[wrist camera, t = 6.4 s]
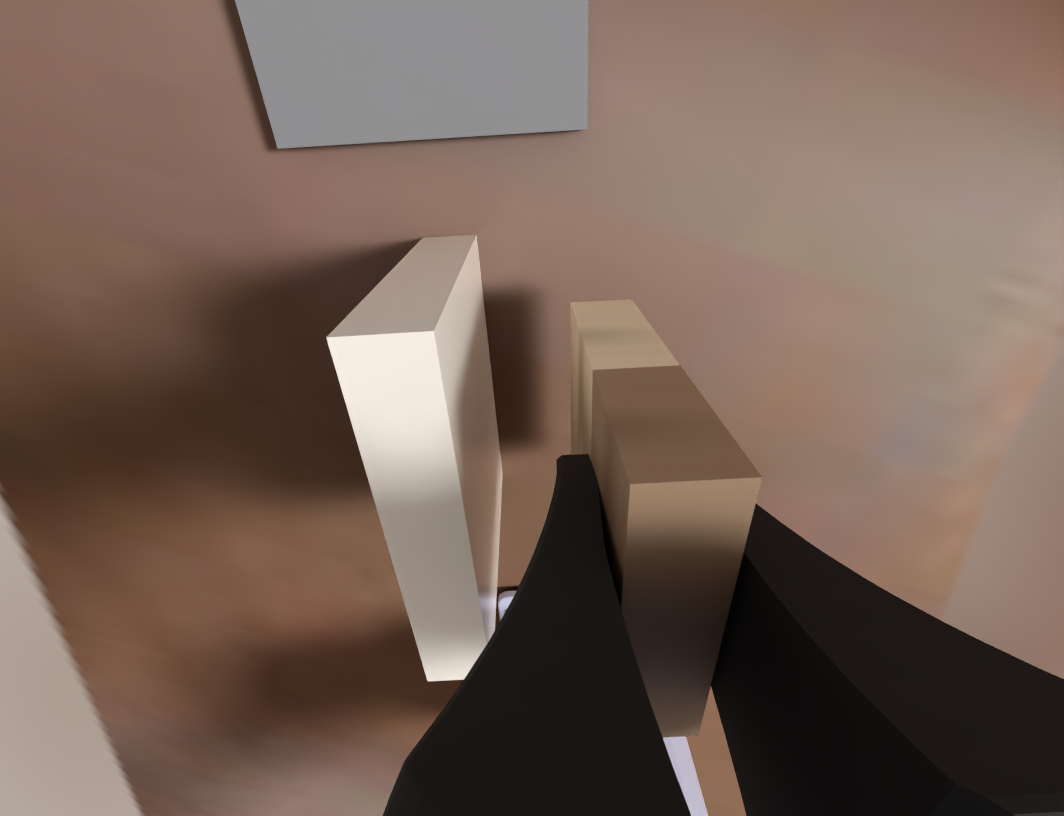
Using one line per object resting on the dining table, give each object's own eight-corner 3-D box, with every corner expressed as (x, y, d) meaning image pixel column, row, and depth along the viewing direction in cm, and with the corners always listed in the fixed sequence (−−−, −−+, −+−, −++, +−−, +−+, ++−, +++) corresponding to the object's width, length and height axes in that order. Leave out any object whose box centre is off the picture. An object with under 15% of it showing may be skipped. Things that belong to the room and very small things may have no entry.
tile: (502, 474, 18) (492, 678, 11) (458, 476, 18) (421, 681, 11) (476, 234, 14) (433, 330, 7) (418, 237, 14) (316, 338, 7)
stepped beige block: (620, 480, 15) (698, 735, 9) (571, 483, 15) (611, 740, 9) (631, 299, 12) (762, 477, 6) (570, 302, 12) (630, 483, 6)
